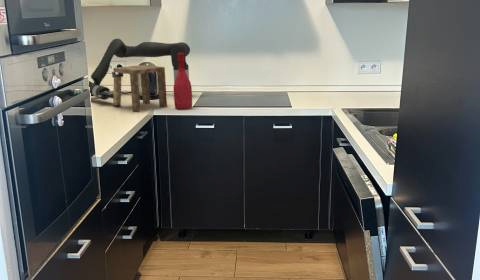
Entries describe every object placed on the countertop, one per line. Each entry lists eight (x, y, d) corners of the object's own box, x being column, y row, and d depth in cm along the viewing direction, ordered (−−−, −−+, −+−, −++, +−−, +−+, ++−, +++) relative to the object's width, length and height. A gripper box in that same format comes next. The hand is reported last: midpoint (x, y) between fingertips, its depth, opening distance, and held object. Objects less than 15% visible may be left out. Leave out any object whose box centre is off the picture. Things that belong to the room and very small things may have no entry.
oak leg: (117, 104, 273) (118, 73, 265) (120, 106, 271) (121, 74, 263) (112, 105, 271) (113, 73, 263) (115, 107, 269) (116, 75, 261)
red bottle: (196, 107, 264) (193, 52, 256) (185, 110, 256) (182, 53, 248) (181, 105, 269) (179, 51, 261) (170, 108, 261) (167, 53, 253)
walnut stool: (147, 102, 281) (144, 64, 276) (167, 106, 267) (164, 67, 261) (114, 107, 267) (111, 68, 262) (133, 112, 253) (130, 70, 247)
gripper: (90, 87, 277) (104, 91, 264) (111, 84, 285) (125, 88, 273) (91, 100, 279) (105, 105, 267) (112, 97, 287) (126, 101, 275)
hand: (115, 96), depth 270 cm, fingers closed
